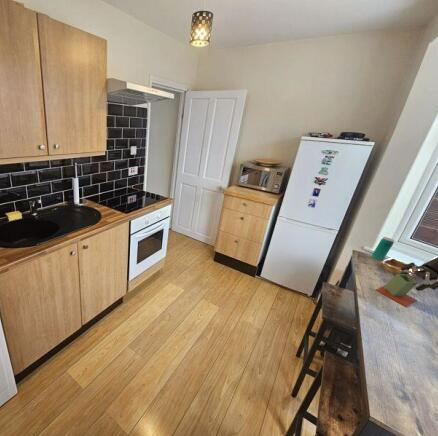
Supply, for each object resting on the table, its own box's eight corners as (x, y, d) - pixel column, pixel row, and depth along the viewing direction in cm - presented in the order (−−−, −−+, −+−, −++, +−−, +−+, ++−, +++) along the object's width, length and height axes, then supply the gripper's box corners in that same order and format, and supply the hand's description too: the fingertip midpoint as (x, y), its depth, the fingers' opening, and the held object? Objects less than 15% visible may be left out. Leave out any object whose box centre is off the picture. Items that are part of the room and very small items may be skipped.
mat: (416, 300, 115) (417, 300, 115) (405, 306, 110) (406, 306, 110) (387, 285, 125) (387, 284, 125) (375, 290, 120) (375, 289, 120)
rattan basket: (418, 275, 136) (422, 271, 134) (407, 280, 130) (411, 275, 129) (389, 262, 147) (392, 257, 146) (377, 266, 142) (380, 261, 140)
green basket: (393, 287, 121) (406, 274, 116) (403, 296, 117) (417, 283, 111) (383, 287, 121) (396, 274, 115) (393, 296, 116) (407, 282, 111)
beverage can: (384, 262, 146) (397, 242, 140) (373, 260, 148) (385, 240, 142) (379, 257, 151) (391, 238, 145) (369, 255, 153) (380, 236, 146)
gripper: (422, 252, 115) (390, 269, 119) (459, 269, 102) (421, 289, 106) (425, 261, 118) (393, 278, 121) (461, 279, 105) (425, 298, 109)
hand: (406, 283), depth 114 cm, fingers open, 8 cm apart
